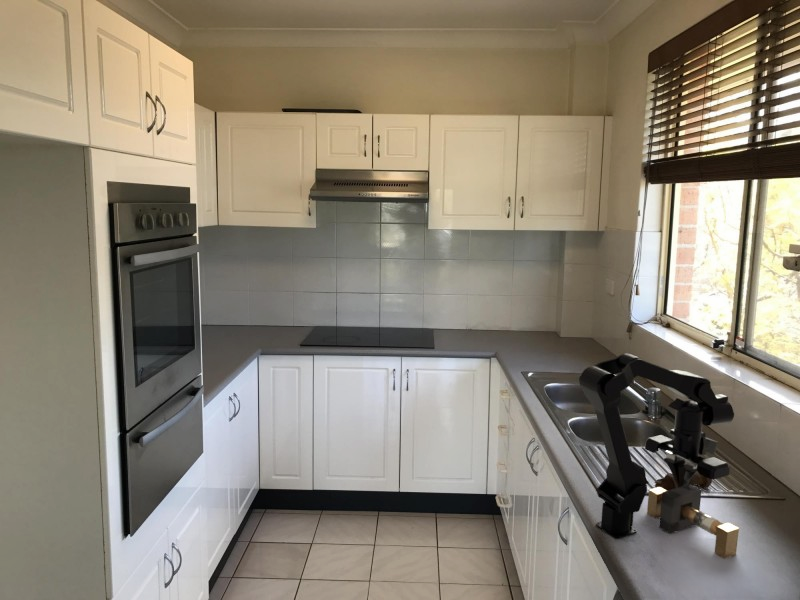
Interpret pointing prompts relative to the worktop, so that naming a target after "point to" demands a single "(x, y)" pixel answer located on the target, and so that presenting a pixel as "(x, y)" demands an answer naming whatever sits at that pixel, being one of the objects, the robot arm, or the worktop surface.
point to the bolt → (697, 479)
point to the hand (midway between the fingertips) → (681, 490)
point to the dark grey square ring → (678, 507)
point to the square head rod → (700, 523)
